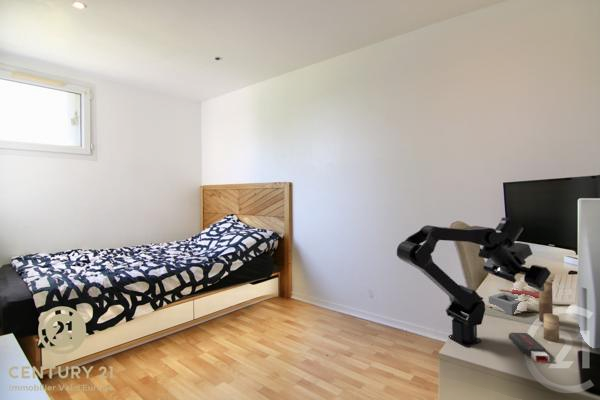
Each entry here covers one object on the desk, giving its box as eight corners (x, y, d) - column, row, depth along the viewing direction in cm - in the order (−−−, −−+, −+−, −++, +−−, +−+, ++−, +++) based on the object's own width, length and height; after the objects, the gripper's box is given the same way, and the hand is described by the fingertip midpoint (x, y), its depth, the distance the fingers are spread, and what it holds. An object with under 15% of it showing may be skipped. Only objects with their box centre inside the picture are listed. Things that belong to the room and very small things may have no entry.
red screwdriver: (499, 285, 132) (543, 293, 122) (499, 289, 132) (543, 297, 122) (497, 288, 129) (542, 296, 119) (497, 292, 129) (542, 300, 119)
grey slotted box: (511, 315, 107) (511, 304, 106) (488, 307, 114) (488, 296, 114) (527, 310, 110) (527, 299, 109) (504, 302, 118) (504, 292, 117)
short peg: (554, 343, 88) (554, 319, 88) (541, 337, 91) (540, 314, 91) (561, 340, 89) (561, 316, 89) (548, 335, 93) (548, 312, 92)
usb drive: (527, 340, 91) (527, 331, 91) (553, 363, 79) (553, 353, 79) (508, 339, 92) (508, 330, 92) (531, 362, 80) (531, 352, 80)
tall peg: (548, 324, 99) (547, 284, 98) (536, 320, 102) (536, 281, 102) (555, 322, 100) (554, 283, 100) (543, 318, 104) (542, 280, 103)
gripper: (545, 240, 88) (573, 273, 91) (488, 231, 105) (514, 259, 109) (524, 271, 86) (554, 303, 89) (471, 257, 104) (497, 284, 107)
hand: (528, 285), depth 99 cm, fingers open, 9 cm apart
